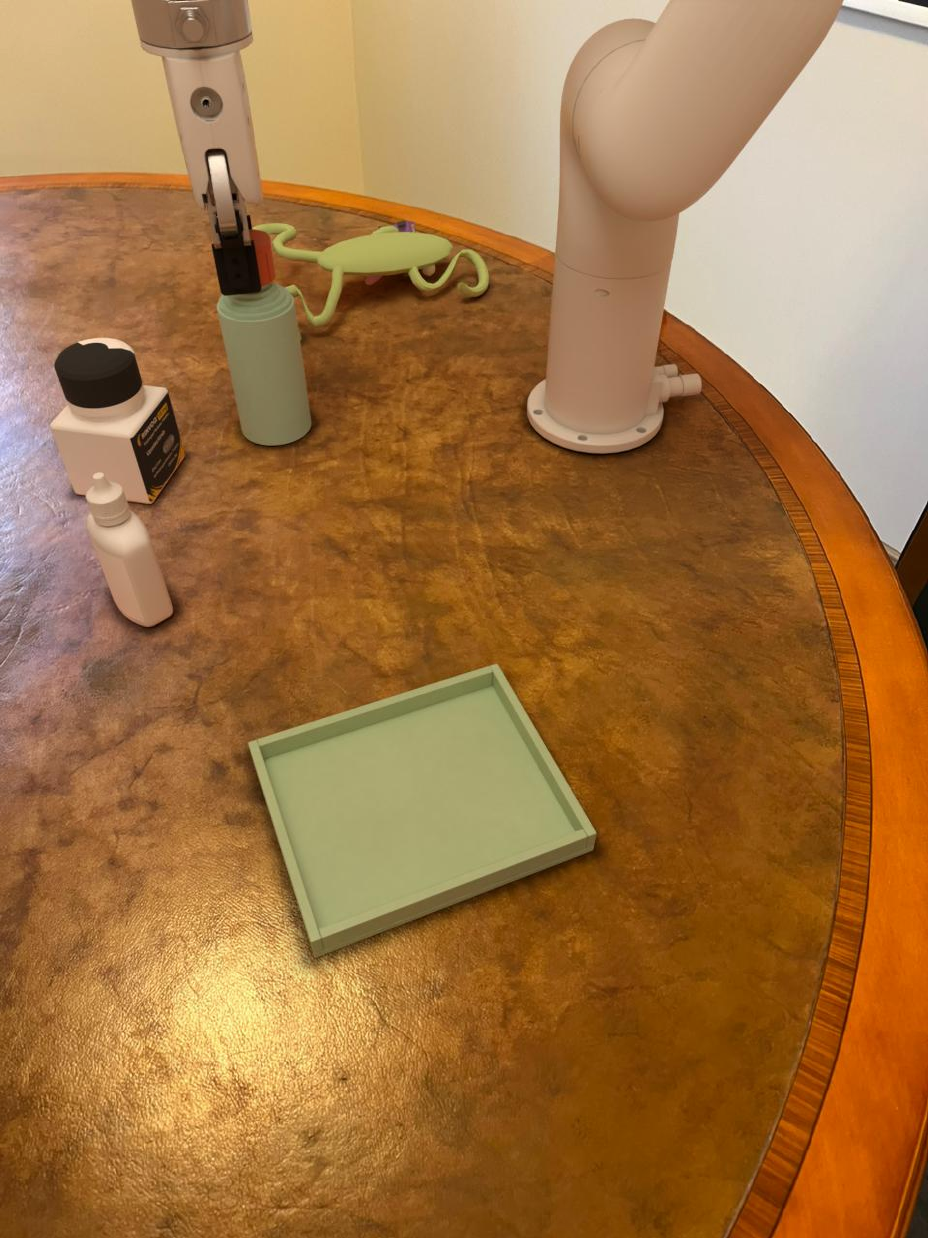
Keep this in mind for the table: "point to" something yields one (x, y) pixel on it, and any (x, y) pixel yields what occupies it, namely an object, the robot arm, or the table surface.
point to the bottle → (266, 364)
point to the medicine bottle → (114, 421)
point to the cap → (263, 256)
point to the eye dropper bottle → (126, 555)
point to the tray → (414, 805)
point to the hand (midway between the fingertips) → (239, 276)
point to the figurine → (377, 260)
